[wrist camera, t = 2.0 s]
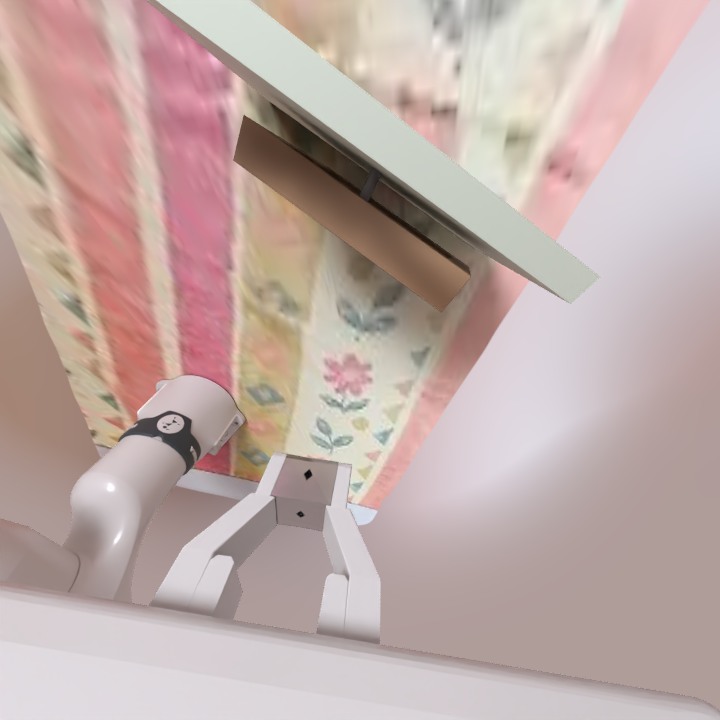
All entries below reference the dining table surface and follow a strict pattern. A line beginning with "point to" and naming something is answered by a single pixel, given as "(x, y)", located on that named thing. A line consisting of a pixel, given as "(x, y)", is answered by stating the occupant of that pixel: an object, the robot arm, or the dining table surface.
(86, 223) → the dining table surface
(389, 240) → the wooden picture frame
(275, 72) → the wall panel
